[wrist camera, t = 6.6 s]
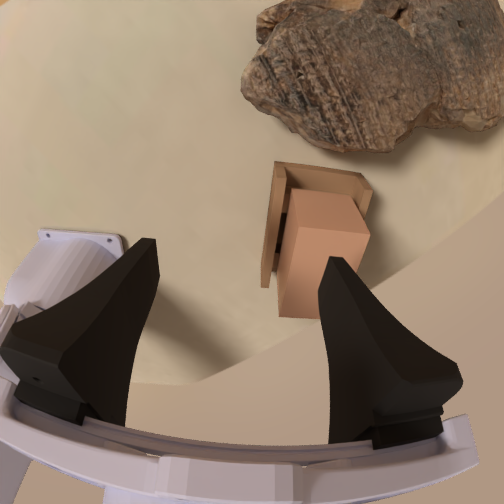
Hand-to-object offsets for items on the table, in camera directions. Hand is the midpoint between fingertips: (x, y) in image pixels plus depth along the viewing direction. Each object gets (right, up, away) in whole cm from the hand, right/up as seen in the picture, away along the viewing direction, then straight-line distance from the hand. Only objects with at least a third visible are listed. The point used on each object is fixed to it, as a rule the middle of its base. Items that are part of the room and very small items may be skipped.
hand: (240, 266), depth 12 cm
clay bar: (+5, +2, +8) cm, 10 cm away
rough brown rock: (+9, +14, +2) cm, 17 cm away
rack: (+5, +3, +10) cm, 11 cm away
